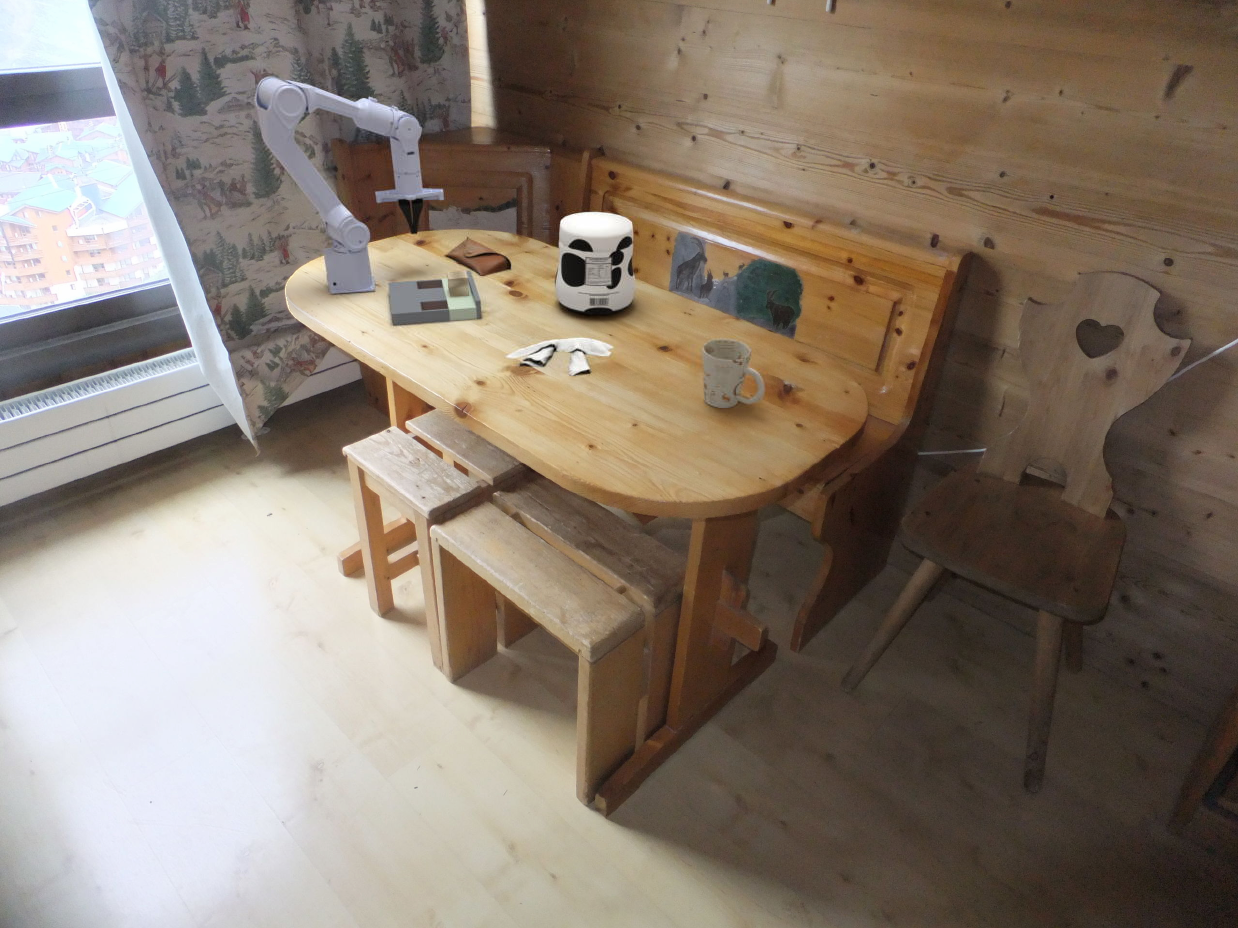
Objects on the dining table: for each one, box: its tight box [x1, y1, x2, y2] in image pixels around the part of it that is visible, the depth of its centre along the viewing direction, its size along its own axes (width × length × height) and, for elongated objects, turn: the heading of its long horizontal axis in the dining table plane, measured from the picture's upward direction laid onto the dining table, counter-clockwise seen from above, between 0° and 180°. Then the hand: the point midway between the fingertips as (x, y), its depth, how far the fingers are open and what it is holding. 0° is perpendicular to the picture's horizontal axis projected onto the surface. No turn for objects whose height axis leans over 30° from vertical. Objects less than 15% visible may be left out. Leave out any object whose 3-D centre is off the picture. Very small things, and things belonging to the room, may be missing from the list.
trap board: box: [387, 270, 483, 326], centre depth 172 cm, size 18×17×4 cm
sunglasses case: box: [443, 236, 512, 277], centre depth 195 cm, size 18×7×7 cm, turn 42°
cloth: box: [505, 337, 614, 377], centre depth 154 cm, size 20×22×2 cm
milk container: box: [554, 211, 636, 315], centre depth 171 cm, size 17×17×18 cm
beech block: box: [446, 270, 469, 297], centre depth 172 cm, size 4×4×4 cm
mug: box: [701, 338, 766, 409], centre depth 139 cm, size 8×13×10 cm, turn 51°
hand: (414, 232), depth 183 cm, fingers closed
